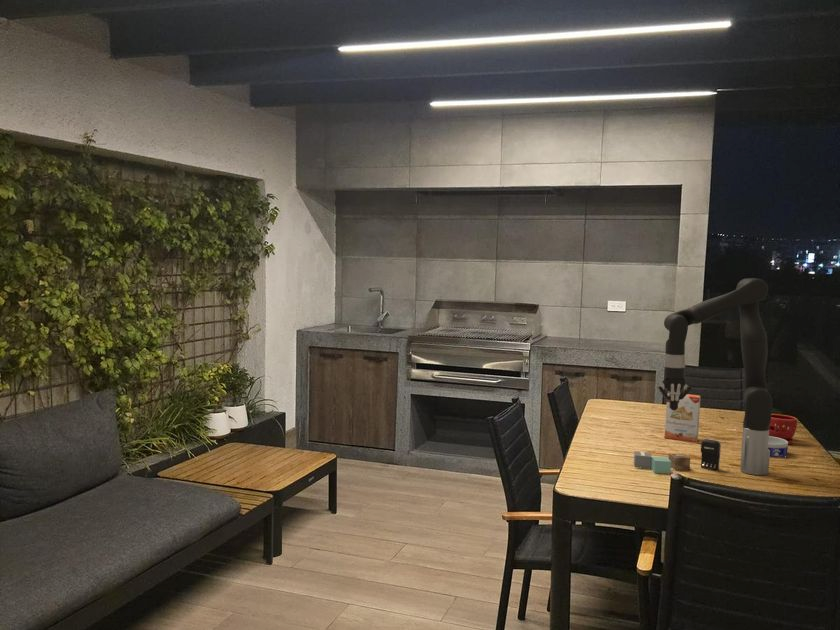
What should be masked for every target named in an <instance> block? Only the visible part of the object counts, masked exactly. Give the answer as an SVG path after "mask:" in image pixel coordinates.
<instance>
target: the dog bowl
mask: <svg viewBox="0 0 840 630" xmlns="http://www.w3.org/2000/svg"><path fill="white" fill-rule="evenodd" d="M788 448H789V444H788V441H786V440H784V439H781V438H777V437H772V436H769V441H768V449H769V450H770V458H773V457H782V458H785V456H786V457H787V456H788V450H789V449H788Z"/></svg>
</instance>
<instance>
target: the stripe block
mask: <svg viewBox="0 0 840 630" xmlns="http://www.w3.org/2000/svg"><path fill="white" fill-rule="evenodd" d="M633 453H634V455H633V467H634V466H635V467H641V468H640V469H644V468H650V469H649V470H651V457H652V454H651V452H645V451H633ZM635 467H634V468H635Z"/></svg>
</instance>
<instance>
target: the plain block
mask: <svg viewBox="0 0 840 630" xmlns="http://www.w3.org/2000/svg"><path fill="white" fill-rule="evenodd" d="M651 469H652V470H653V471H652V470H651ZM651 469H650V470H651V471H652V472H653V473H654V474H657V473H668V474H667V475H670V474H671V472H672V470H671V469H672V468H671V461H670V460H669V457H667V456H651ZM669 473H670V474H669Z"/></svg>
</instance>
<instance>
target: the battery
mask: <svg viewBox="0 0 840 630" xmlns="http://www.w3.org/2000/svg"><path fill="white" fill-rule="evenodd" d="M721 449H722V443H721V442H720V441H719V440H717V439H712V438H711V439H710V438H705V439H703V440H702V441H701V443H700V453H701V460H700V467H701V468H703V469H708V470H713V471H717V470H720V461H721V452H722V450H721Z"/></svg>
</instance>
